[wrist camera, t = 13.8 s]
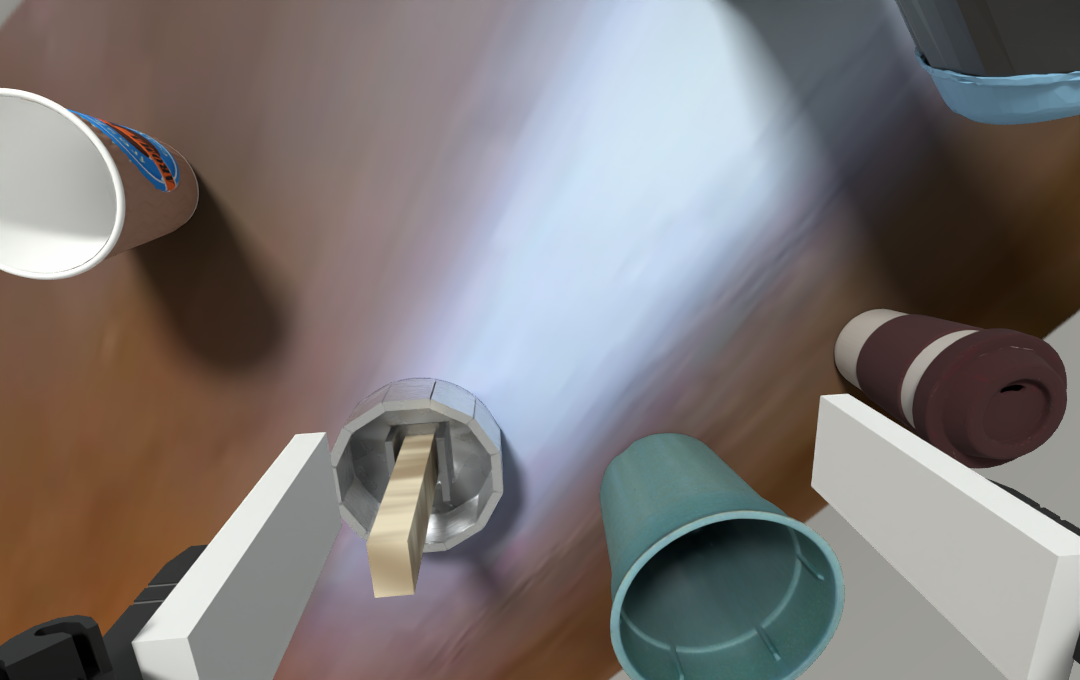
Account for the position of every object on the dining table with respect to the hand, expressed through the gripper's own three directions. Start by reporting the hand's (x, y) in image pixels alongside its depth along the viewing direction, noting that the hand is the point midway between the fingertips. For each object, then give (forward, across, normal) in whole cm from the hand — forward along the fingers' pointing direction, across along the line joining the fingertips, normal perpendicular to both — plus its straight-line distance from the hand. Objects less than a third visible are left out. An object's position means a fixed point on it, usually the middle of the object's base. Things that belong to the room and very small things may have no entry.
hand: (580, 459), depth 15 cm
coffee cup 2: (+33, +31, -9) cm, 46 cm away
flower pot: (+33, +12, -22) cm, 41 cm away
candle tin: (+33, -10, -16) cm, 38 cm away
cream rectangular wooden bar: (+32, -10, -16) cm, 37 cm away
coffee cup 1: (+33, -28, +8) cm, 44 cm away
